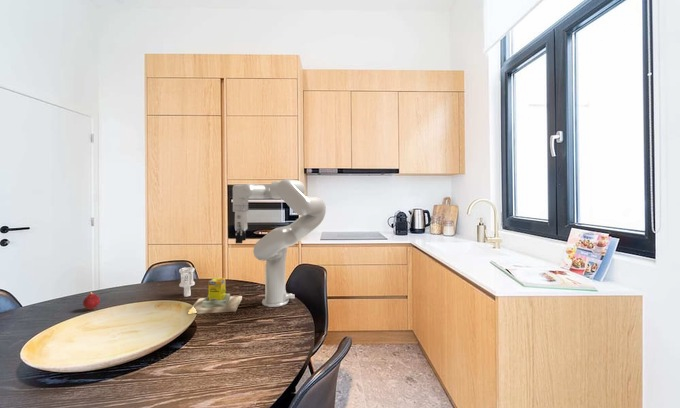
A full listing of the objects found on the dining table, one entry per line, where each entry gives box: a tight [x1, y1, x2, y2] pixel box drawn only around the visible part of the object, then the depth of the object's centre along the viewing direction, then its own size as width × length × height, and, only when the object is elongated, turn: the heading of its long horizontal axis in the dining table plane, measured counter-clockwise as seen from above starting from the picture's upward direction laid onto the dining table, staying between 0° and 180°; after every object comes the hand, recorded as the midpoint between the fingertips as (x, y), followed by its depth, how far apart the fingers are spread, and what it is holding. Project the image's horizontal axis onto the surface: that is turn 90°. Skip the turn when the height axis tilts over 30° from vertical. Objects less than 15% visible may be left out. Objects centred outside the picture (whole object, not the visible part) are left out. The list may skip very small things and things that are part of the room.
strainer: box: [178, 267, 196, 298], centre depth 147 cm, size 7×7×15 cm
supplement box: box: [208, 277, 226, 301], centre depth 133 cm, size 6×6×11 cm
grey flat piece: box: [192, 293, 243, 315], centre depth 133 cm, size 20×16×4 cm
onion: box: [82, 291, 101, 311], centre depth 129 cm, size 6×6×8 cm
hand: (240, 241), depth 146 cm, fingers open, 9 cm apart
